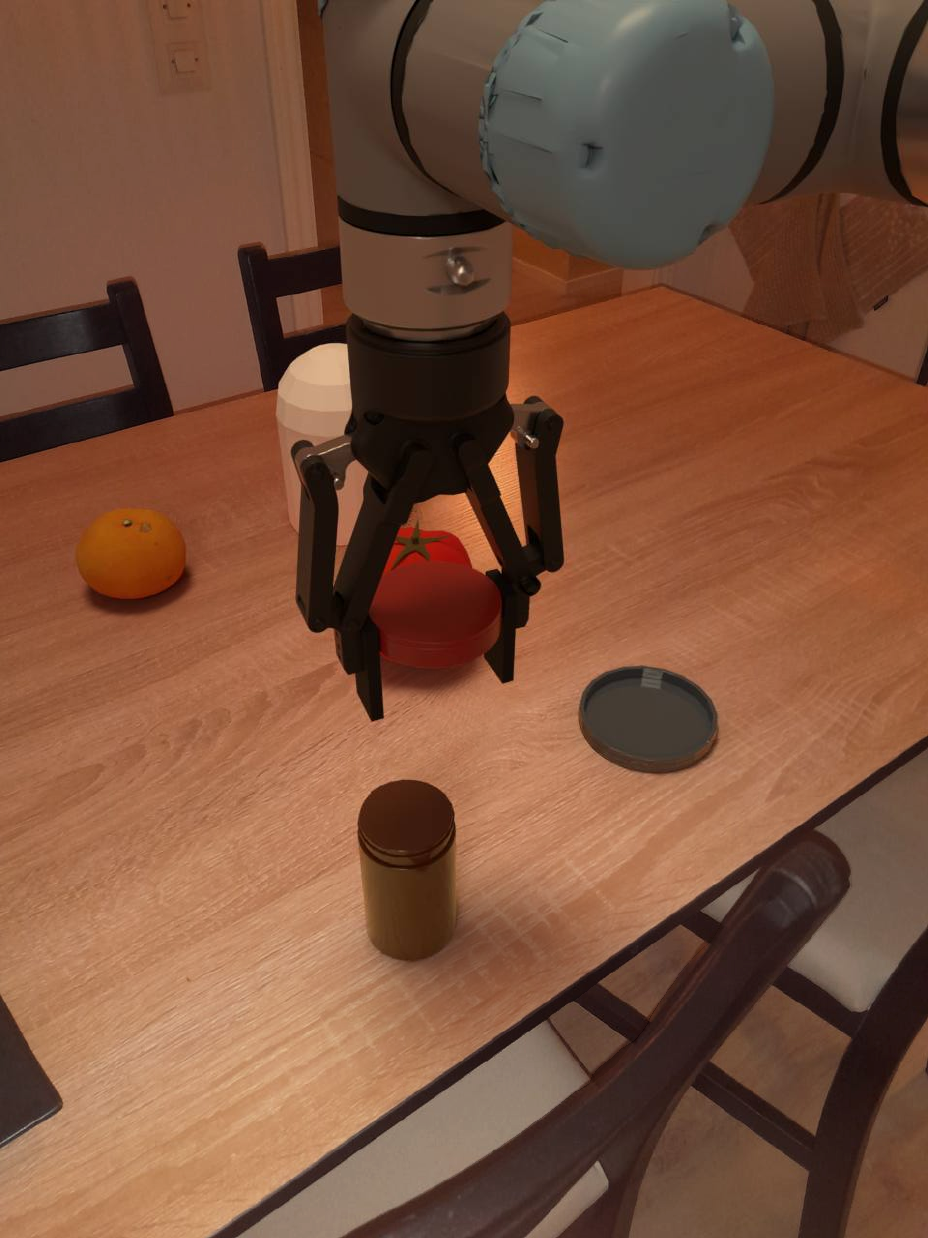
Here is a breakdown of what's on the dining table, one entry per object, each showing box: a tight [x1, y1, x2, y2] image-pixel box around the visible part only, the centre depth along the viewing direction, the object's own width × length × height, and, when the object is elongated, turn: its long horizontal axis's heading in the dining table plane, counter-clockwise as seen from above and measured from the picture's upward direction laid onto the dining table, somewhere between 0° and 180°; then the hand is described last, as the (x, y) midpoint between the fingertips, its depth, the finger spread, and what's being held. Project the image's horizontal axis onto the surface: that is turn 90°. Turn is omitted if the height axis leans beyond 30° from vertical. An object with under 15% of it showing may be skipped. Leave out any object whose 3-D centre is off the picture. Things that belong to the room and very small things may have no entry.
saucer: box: [577, 665, 719, 774], centre depth 84 cm, size 12×12×2 cm
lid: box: [368, 561, 502, 670], centre depth 54 cm, size 8×8×2 cm
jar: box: [356, 779, 457, 961], centre depth 65 cm, size 6×6×12 cm
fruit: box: [75, 507, 187, 600], centre depth 98 cm, size 10×10×8 cm
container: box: [275, 342, 368, 547], centre depth 106 cm, size 14×13×20 cm
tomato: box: [380, 519, 474, 664], centre depth 88 cm, size 12×12×13 cm
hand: (435, 686), depth 58 cm, fingers closed on lid, 8 cm apart
